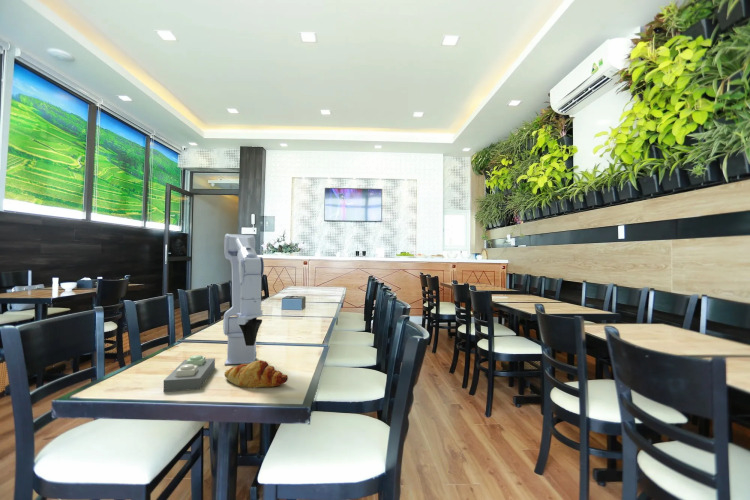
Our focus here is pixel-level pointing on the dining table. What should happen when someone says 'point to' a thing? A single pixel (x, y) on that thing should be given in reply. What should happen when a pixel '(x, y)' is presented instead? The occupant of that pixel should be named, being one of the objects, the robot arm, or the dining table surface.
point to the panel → (189, 377)
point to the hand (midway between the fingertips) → (250, 345)
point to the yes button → (196, 360)
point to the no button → (187, 370)
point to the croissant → (255, 375)
